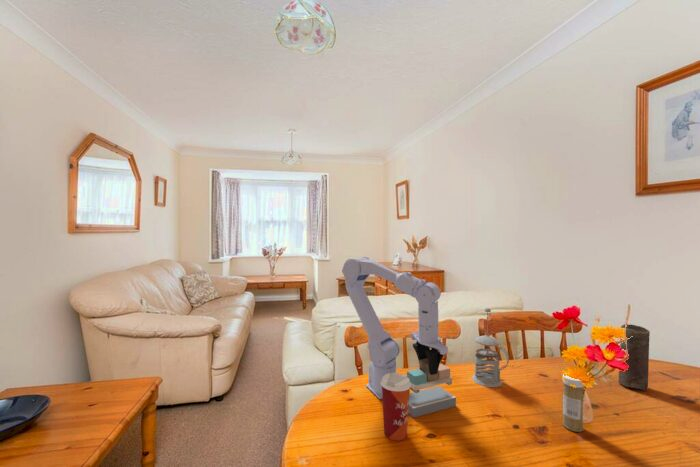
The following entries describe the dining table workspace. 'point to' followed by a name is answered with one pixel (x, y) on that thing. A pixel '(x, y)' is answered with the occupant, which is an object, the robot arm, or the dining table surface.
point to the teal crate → (417, 376)
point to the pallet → (429, 384)
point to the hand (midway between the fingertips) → (428, 370)
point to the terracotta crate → (443, 371)
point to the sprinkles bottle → (572, 404)
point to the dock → (430, 401)
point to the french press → (488, 361)
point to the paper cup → (395, 405)
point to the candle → (636, 358)
